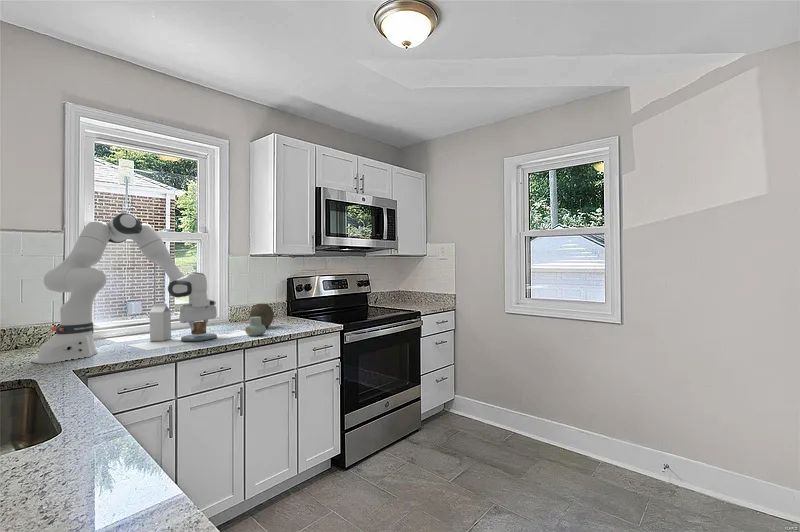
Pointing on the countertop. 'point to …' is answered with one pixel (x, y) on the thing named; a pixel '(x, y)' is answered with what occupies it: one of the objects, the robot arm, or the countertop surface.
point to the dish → (198, 337)
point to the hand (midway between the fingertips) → (198, 329)
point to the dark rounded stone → (263, 313)
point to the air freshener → (255, 327)
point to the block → (199, 328)
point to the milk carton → (160, 322)
